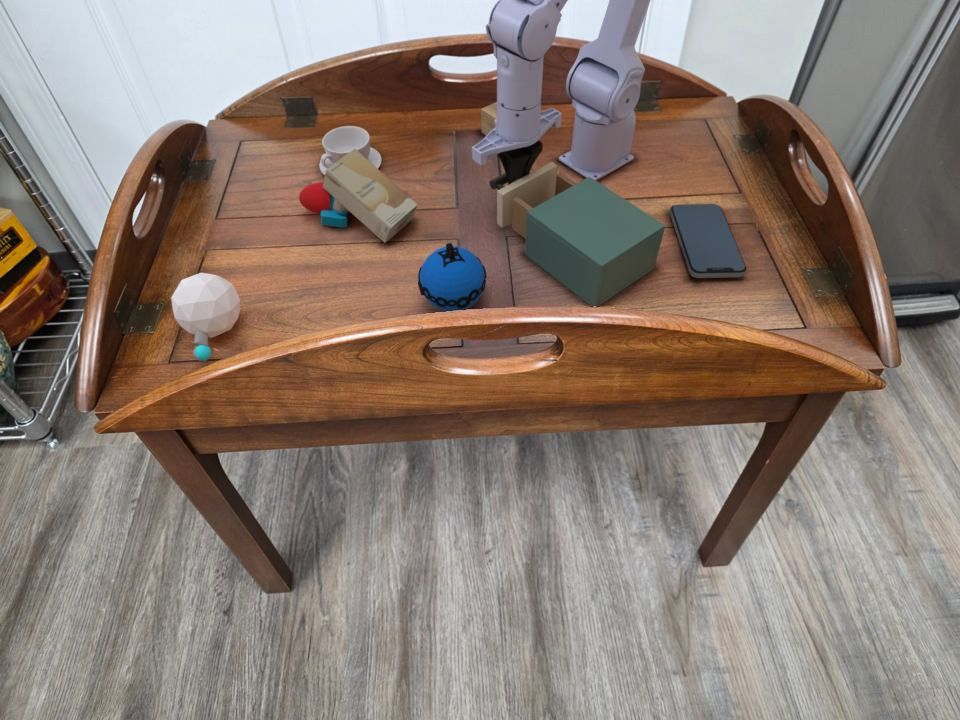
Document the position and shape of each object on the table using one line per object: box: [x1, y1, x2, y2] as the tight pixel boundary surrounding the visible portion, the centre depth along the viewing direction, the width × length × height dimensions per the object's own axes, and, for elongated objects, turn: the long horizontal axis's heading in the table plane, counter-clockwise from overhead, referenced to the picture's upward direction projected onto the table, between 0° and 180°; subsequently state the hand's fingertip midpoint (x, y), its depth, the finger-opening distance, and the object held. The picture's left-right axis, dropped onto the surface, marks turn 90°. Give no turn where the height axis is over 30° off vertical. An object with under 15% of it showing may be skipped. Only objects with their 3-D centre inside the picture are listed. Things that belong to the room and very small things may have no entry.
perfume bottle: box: [170, 272, 241, 362], centre depth 80 cm, size 8×8×12 cm
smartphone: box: [669, 203, 747, 279], centre depth 91 cm, size 8×2×15 cm
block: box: [480, 101, 497, 137], centre depth 108 cm, size 4×4×4 cm
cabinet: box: [524, 177, 666, 307], centre depth 87 cm, size 14×12×8 cm
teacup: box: [318, 125, 382, 176], centre depth 103 cm, size 10×10×5 cm
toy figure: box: [298, 181, 351, 228], centre depth 96 cm, size 8×5×15 cm
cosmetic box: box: [323, 149, 419, 244], centre depth 92 cm, size 6×4×12 cm
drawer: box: [489, 161, 577, 240], centre depth 91 cm, size 17×10×6 cm, turn 39°
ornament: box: [417, 242, 487, 312], centre depth 81 cm, size 9×9×10 cm
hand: (516, 186), depth 94 cm, fingers closed, pressing on drawer
